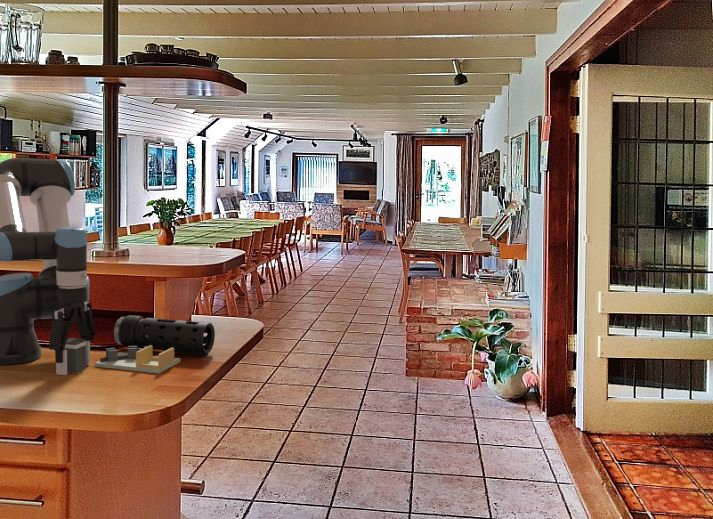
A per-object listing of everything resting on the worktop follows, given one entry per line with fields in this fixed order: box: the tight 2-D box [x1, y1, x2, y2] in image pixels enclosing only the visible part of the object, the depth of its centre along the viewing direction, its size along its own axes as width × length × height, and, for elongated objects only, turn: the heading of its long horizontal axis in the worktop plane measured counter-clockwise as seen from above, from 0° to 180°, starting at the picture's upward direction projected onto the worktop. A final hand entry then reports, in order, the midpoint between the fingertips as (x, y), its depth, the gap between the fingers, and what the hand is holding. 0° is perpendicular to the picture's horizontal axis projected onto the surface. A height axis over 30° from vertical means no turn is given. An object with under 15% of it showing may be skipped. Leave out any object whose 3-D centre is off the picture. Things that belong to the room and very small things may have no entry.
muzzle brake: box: [113, 314, 216, 357], centre depth 207 cm, size 10×28×10 cm, turn 78°
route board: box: [94, 346, 181, 375], centre depth 194 cm, size 19×12×4 cm, turn 77°
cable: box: [99, 355, 128, 362], centre depth 195 cm, size 13×3×1 cm, turn 107°
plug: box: [60, 337, 87, 374], centre depth 187 cm, size 5×5×8 cm
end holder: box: [136, 345, 175, 369], centre depth 191 cm, size 7×8×4 cm
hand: (73, 369), depth 187 cm, fingers open, 9 cm apart
